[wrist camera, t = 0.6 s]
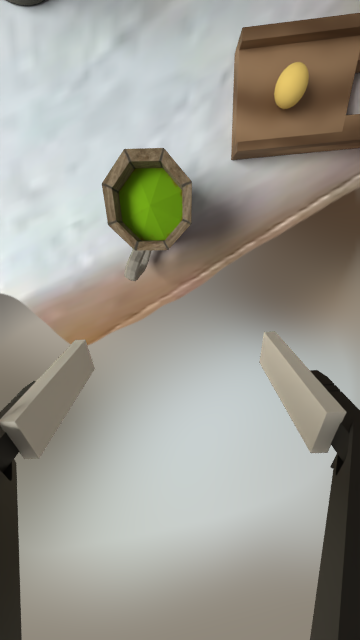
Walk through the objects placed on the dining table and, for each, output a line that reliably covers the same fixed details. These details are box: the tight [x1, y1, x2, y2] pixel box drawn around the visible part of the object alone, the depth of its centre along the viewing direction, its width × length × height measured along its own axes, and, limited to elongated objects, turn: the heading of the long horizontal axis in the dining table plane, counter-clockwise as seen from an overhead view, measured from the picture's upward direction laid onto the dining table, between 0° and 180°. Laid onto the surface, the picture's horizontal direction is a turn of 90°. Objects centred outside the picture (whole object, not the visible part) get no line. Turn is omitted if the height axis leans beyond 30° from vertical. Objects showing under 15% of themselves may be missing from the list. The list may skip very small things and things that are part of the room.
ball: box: [274, 62, 309, 109], centre depth 23 cm, size 4×4×4 cm
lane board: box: [231, 13, 360, 160], centre depth 25 cm, size 11×22×4 cm, turn 94°
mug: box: [102, 148, 192, 281], centre depth 28 cm, size 16×11×12 cm
